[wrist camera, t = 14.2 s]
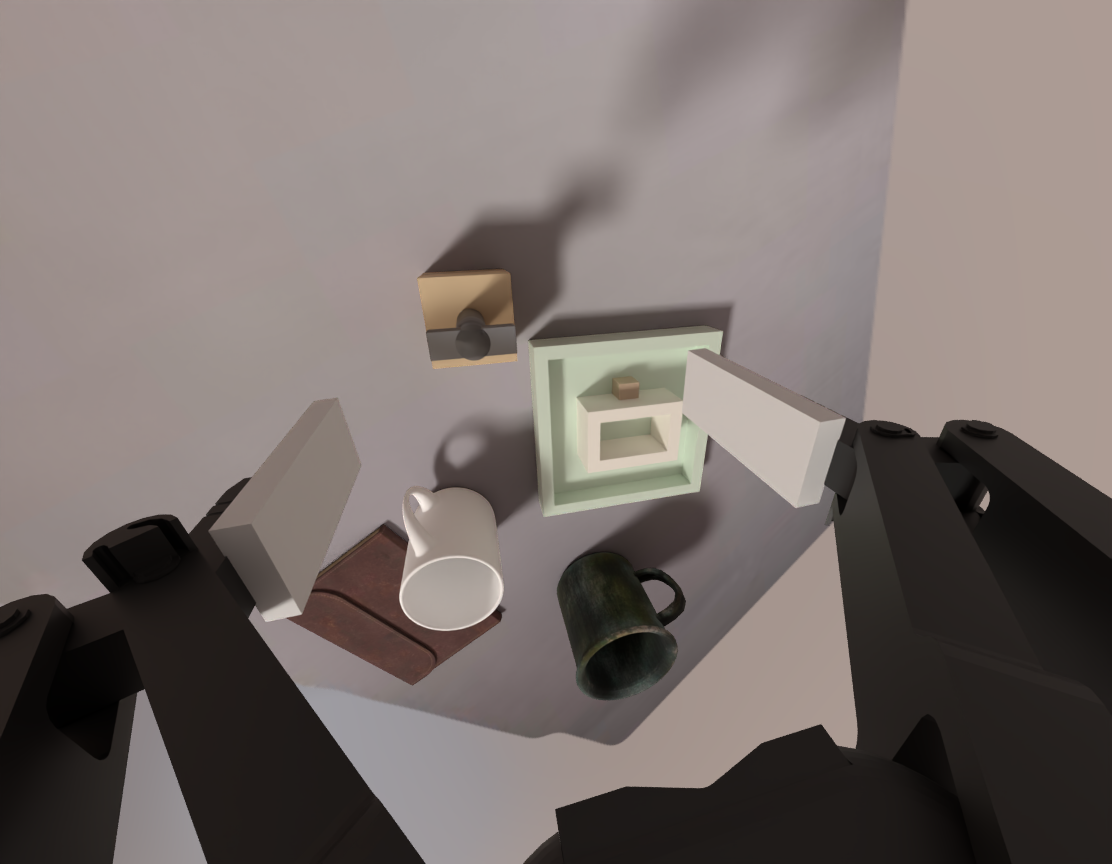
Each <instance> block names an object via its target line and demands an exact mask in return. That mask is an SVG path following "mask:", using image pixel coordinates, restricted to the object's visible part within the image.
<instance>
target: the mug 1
mask: <svg viewBox="0 0 1112 864" xmlns="http://www.w3.org/2000/svg"><path fill="white" fill-rule="evenodd" d="M411 494H412V495H414V496H415V497H416V499H417V500H418V502H419V504H420V505H419V506H418V508H417V510H416V512H415V514H414V513H413V511H412V509H411V507H410V503H409V496H410V495H411ZM403 519H404V523H405V527H406V531H407V534H408V536H409V542H408V548H407V554H406V559H405V565H404V571H403V577H402V582H401V588H400V594H399V599H400V604H401V607H402V609H403V611H404V613H405V614H406V615H407V616H408V618H409V619H411V620H412V621H413V622H415V623H416V624H418V625H420V626H423V627H425V628H429V629H433V630H441V631H450V630H458V629H463V628H466V627H469V626H472V625H475V624H477V623H479V622H481V621H482V620H484V619H485V618H487V617H488V616H489V615H490V614H491V613H493V612H494V610H495V609H496V608H497V607H498V605H499V603H500V601H501V599H502V596H503V593H504V582H503V574H502V567H501V559H500V551H499V543H498V535H497V527H496V520H495V515H494V511H493V509H492V507H491V505H490V503H489V502H488V501H487V500H486V499H485V498H484V497H483V496H482V495H480V494H479V493H477V492H475V491H473V490H470V489H466V488H459V487H453V488H446V489H442V490H439V491H437V492H435V493H433V492H431V491H430V490H428V489H426V488H424V487H420V486H413V487H411V488H409V489H408V490H407V492H406V494H405V496H404V499H403Z"/></svg>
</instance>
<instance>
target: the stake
mask: <svg viewBox="0 0 1112 864" xmlns="http://www.w3.org/2000/svg"><path fill="white" fill-rule="evenodd" d="M417 281H418V286H419V292H420V298H421V303H422V309H423V315H424V320H425V326H426V336H427V342H428V347H429V353H430V359H431V361H432V366H433V369H437V368H448V367H459V366H470V365H480V364H491V363H502V362H513V361H517V343H516V331H515V325H514V314H513V301H512V289H511V276H510V273H509V272H507V271H505V270H504V269H488V270H468V271H449V272H429V273H423V274H422V275H421V276H419V277H418V278H417Z"/></svg>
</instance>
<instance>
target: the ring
mask: <svg viewBox="0 0 1112 864" xmlns="http://www.w3.org/2000/svg"><path fill="white" fill-rule="evenodd" d="M576 405H577V455H578V456H579V458H580V460H581V462H582V464H583V465H584V467H585V469H586V471H587V473H593V472H600V471H607V470H614V469H620V468H627V467H634V466H641V465H647V464H654V463H661V462H668V461H674V460H677V458H678V449H679V440H680V431H681V422H682V414H683V413H682V406H683V400H682V399H680V398H679V397H677V396H676V395H675V394H673V393H672V392H670V391H669V390H667V389H666V388H665V387H664V388H655V389H646V390H639V382H638V381H637V380H636V379H635V378H633V377H632V376H628V377H618V378H612V393H611V394H602V395H593V396H584V397H576ZM645 417H652V418H651V431H650V434H648V435H640V436H633V437H625V438H618V439H610V440H603V441H600V423H605V422H613V421H621V420H629V419H637V418H645Z"/></svg>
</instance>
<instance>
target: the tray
mask: <svg viewBox="0 0 1112 864" xmlns="http://www.w3.org/2000/svg"><path fill="white" fill-rule="evenodd" d="M722 335H723V331H721V330H718V329H715V328H712V327H709V326H706V325H704V326H692V327H680V328H668V329H656V330H644V331H632V332H620V333H608V334H596V335H585V336H573V337H561V338H549V339H537V340H528V343H529V358H530V374H531V389H532V404H533V419H534V434H535V449H536V465H537V480H538V495H539V503H540V506H541V509H542V513H543V516H544V517H547V516H553V515H559V514H565V513H571V512H577V511H583V510H590V509H596V508H602V507H608V506H614V505H620V504H626V503H632V502H638V501H644V500H650V499H656V498H662V497H668V496H674V495H681V494H687V493H693V492H699V491H700V485H701V478H702V471H703V464H704V458H705V451H706V444H707V437H708V434H707V433H705V432H704V431H703V430H702V429H701V428H699V427H698V426H697V425H696V424H695V423H693V422H692V421H691V420H690V419H689V418H687V417H686V416H685V415H684V414H682V422H681V431H680V440H679V449H678V458H677V460H674V461H668V462H661V463H654V464H647V465H641V466H634V467H627V468H620V469H614V470H607V471H600V472H593V473H587V471H586V469H585V467H584V465H583V464H582V462H581V460H580V458H579V456H578V455H577V405H576V397H584V396H593V395H602V394H611V393H612V378H618V377H628V376H632V377H633V378H635V379H636V380H637V381H638V382H639V390H646V389H655V388H664V387H665V388H666V389H667V390H669V391H670V392H672V393H673V394H675V395H676V396H677V397H679V398H680V399H682V400H683V396H684V385H685V375H686V365H687V355H688V350H695V349H702V348H706V349H708V350H710V351H712V352H714V353H716V354H718V355H720V349H721V342H722ZM651 418H652V417H645V418H637V419H629V420H621V421H613V422H605V423H600V441H603V440H610V439H618V438H625V437H633V436H640V435H648V434H650V431H651Z"/></svg>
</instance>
